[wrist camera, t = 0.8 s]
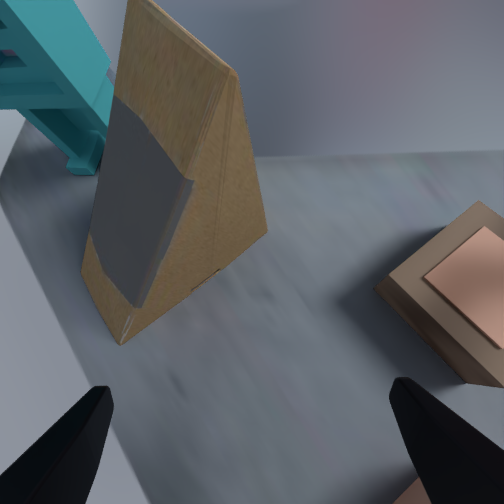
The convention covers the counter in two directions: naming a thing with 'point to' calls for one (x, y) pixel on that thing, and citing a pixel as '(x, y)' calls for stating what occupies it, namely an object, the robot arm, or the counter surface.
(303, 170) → the counter surface
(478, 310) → the oak base block
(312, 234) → the counter surface
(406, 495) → the terracotta cube
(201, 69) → the sandwich container
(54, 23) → the toy
